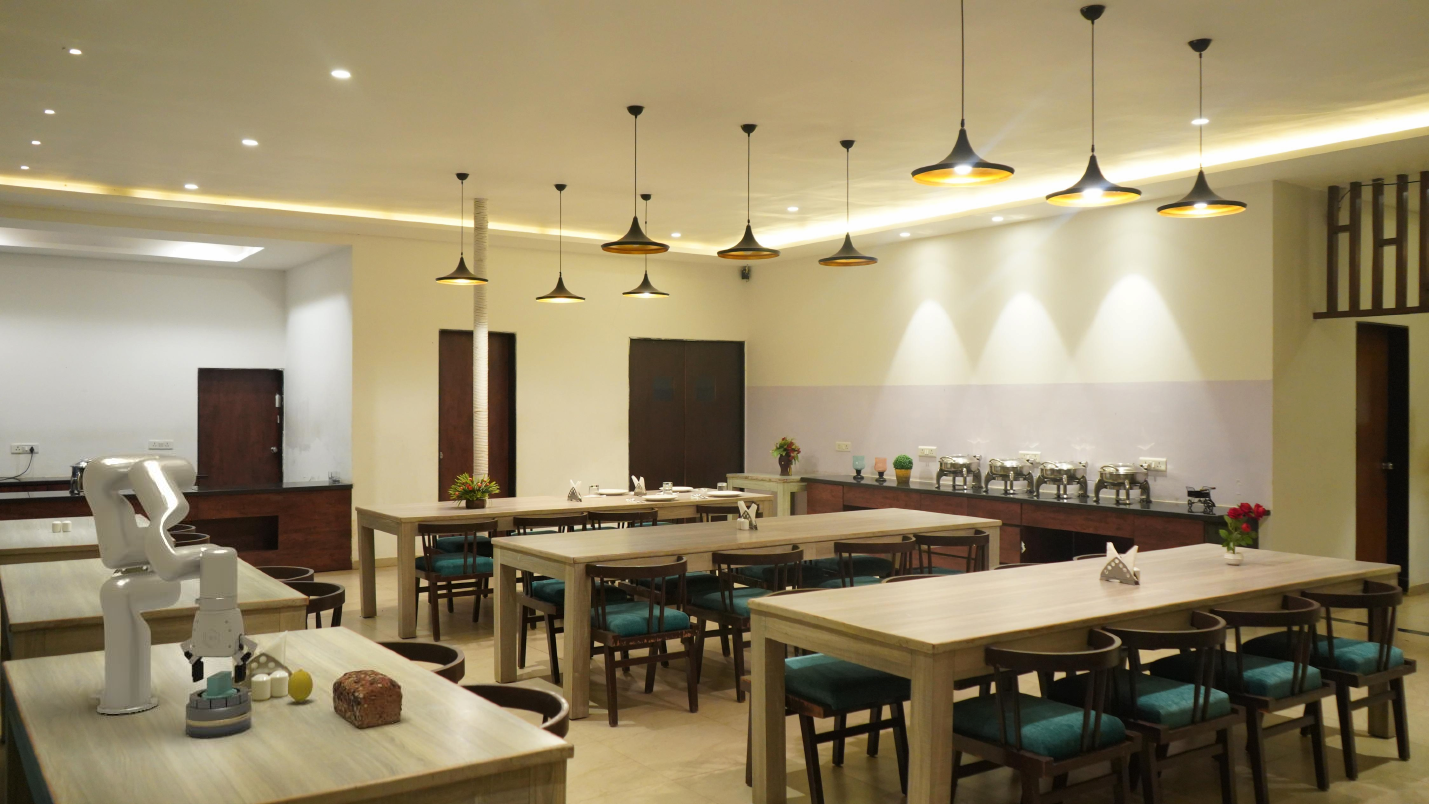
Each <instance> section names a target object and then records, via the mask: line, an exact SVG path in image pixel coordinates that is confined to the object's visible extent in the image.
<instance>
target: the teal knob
mask: <svg viewBox="0 0 1429 804" xmlns="http://www.w3.org/2000/svg"><path fill="white" fill-rule="evenodd" d="M232 676H233V673H232V670H220V671H218V672H216V673H215V674H212V675H210V676H208V677H206V688H207V691H206V692H204V693H203V694H202V698H220V697H227V696H231V695H235V694H237V690H236V689H232V686H233V677H232Z"/></svg>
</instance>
